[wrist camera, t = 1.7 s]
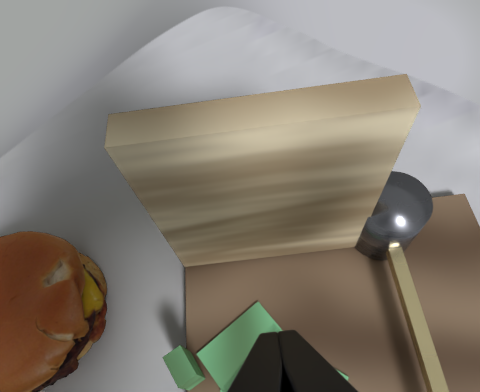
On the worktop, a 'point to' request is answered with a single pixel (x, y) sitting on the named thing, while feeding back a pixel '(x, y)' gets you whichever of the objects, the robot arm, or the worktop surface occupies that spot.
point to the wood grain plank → (284, 180)
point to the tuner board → (342, 310)
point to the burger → (46, 309)
